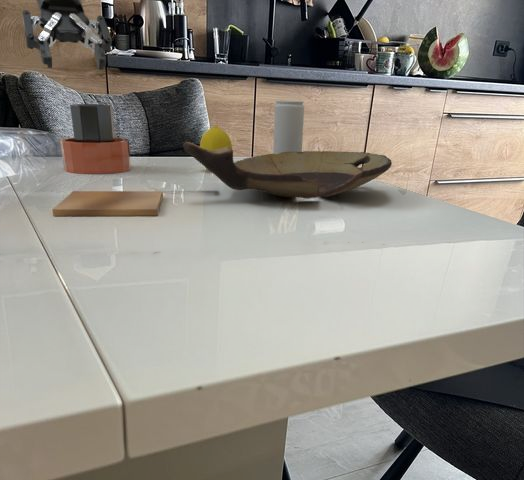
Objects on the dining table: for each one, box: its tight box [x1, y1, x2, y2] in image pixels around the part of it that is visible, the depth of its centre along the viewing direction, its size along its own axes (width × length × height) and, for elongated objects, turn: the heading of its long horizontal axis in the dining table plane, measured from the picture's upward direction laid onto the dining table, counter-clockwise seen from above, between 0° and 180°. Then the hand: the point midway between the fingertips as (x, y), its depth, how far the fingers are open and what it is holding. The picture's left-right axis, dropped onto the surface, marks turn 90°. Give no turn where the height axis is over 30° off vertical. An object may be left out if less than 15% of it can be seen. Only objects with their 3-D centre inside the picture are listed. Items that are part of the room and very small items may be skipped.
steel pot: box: [69, 103, 116, 143], centre depth 91 cm, size 6×6×10 cm
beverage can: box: [272, 100, 305, 154], centre depth 91 cm, size 5×5×12 cm
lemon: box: [199, 125, 233, 169], centre depth 93 cm, size 6×6×8 cm
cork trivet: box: [52, 190, 164, 217], centre depth 70 cm, size 12×12×1 cm
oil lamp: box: [182, 141, 393, 200], centre depth 78 cm, size 22×30×8 cm
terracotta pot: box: [59, 137, 132, 175], centre depth 92 cm, size 11×11×6 cm
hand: (76, 65), depth 94 cm, fingers open, 8 cm apart
